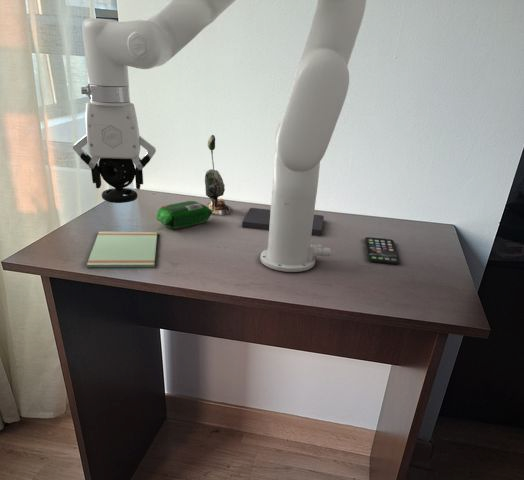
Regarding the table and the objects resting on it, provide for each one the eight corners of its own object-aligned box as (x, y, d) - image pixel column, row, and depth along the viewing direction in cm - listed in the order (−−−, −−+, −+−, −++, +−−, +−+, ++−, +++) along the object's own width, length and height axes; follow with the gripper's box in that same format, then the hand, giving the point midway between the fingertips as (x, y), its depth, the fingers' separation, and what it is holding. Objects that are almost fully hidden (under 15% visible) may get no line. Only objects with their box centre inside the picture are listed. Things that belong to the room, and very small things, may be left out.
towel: (157, 234, 121) (157, 231, 121) (154, 267, 104) (154, 264, 104) (99, 233, 119) (99, 231, 118) (86, 267, 102) (86, 264, 102)
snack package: (217, 222, 131) (217, 203, 128) (167, 233, 122) (166, 212, 119) (201, 215, 135) (201, 197, 132) (152, 225, 126) (151, 205, 123)
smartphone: (368, 259, 114) (364, 236, 126) (368, 261, 114) (364, 239, 127) (400, 262, 114) (393, 239, 126) (399, 265, 114) (392, 242, 126)
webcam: (95, 201, 102) (88, 151, 97) (110, 191, 109) (104, 144, 103) (130, 205, 102) (126, 155, 96) (143, 195, 108) (139, 148, 102)
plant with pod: (195, 215, 135) (194, 138, 124) (209, 204, 144) (210, 131, 133) (223, 219, 134) (224, 142, 123) (235, 207, 143) (238, 135, 132)
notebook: (241, 227, 129) (321, 235, 127) (242, 221, 128) (322, 230, 126) (249, 212, 140) (323, 220, 138) (250, 207, 139) (324, 215, 137)
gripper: (59, 95, 90) (73, 191, 99) (154, 100, 92) (159, 193, 102) (66, 90, 96) (79, 181, 106) (156, 95, 99) (160, 183, 108)
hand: (118, 186), depth 104 cm, fingers closed on webcam, 7 cm apart
